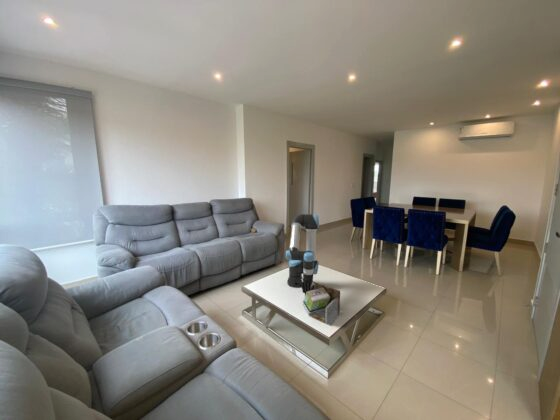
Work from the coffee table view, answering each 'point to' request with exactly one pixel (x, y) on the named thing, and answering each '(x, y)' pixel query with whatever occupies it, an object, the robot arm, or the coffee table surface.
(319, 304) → the tea box
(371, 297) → the coffee table surface
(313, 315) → the shelf wall
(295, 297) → the coffee table surface
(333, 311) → the bookend
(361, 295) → the coffee table surface
